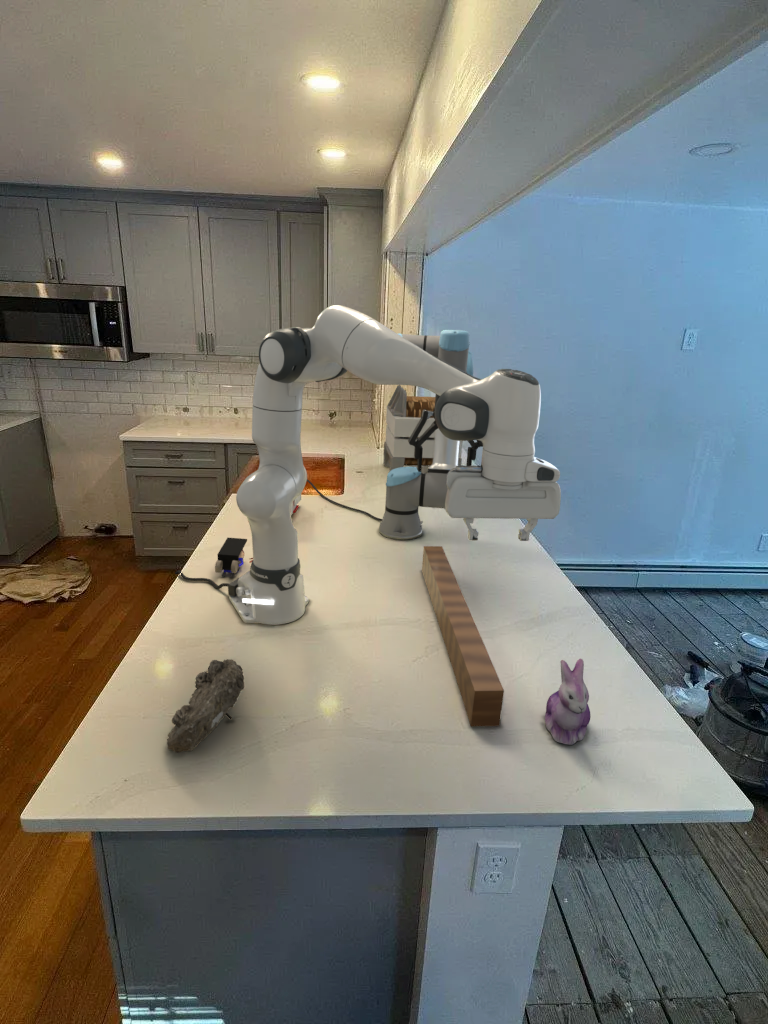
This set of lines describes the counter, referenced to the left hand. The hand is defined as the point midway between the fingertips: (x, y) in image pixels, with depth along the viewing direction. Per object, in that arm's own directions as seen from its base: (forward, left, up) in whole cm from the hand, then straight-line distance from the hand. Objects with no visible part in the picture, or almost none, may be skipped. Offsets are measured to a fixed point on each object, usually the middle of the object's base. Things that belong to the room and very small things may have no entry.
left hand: (497, 539), depth 103 cm
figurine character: (-85, -12, -36) cm, 93 cm away
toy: (-115, +23, -36) cm, 123 cm away
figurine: (+16, +7, -36) cm, 40 cm away
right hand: (-44, +32, -2) cm, 54 cm away
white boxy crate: (-130, +109, -36) cm, 173 cm away
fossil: (-29, -44, -36) cm, 64 cm away
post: (-22, +16, -36) cm, 45 cm away
